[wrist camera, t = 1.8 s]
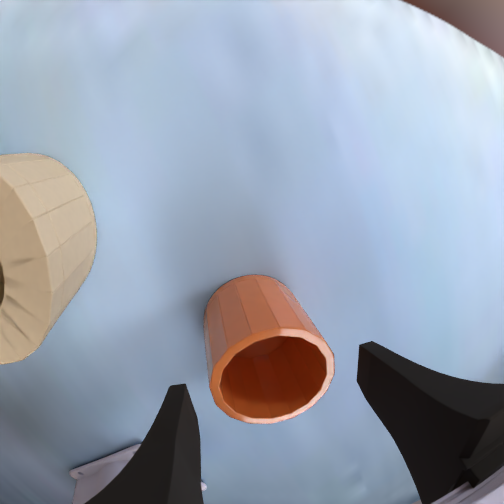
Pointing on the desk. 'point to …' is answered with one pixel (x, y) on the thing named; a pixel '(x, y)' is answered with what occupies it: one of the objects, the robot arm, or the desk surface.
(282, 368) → the cup
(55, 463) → the desk surface
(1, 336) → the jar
